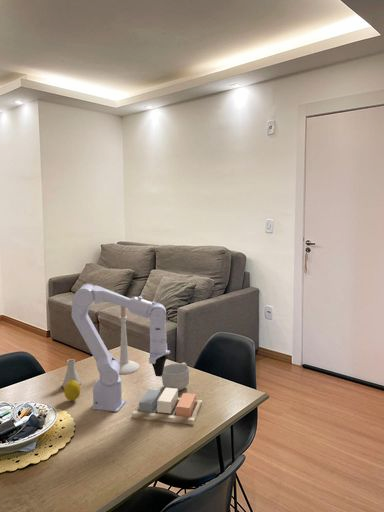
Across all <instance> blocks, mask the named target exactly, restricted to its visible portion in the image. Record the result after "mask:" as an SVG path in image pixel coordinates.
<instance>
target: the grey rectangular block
mask: <svg viewBox="0 0 384 512" xmlns="http://www.w3.org/2000/svg"><path fill="white" fill-rule="evenodd" d="M160 396H161V390H160V389H159V390H157V389H149V388H148V389H147V391H146V392H145V393H144V395H143V396H142V397H141V399H140V400H139V401H138V404H139V412H148V413H154V411H155V409H156V408H157V400H158V399H159V397H160Z"/></svg>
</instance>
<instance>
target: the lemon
mask: <svg viewBox="0 0 384 512" xmlns="http://www.w3.org/2000/svg"><path fill="white" fill-rule="evenodd" d="M80 395H81V385H80V386H79V383H78V382H77V381H74V380H71V381H69V382H68V383H67V384H66V385H65V388H64V396H65V398H66V400H69V401H71V402H74V401H75V400H77V399H78V398H79V397H80Z"/></svg>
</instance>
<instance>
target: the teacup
mask: <svg viewBox="0 0 384 512" xmlns="http://www.w3.org/2000/svg"><path fill="white" fill-rule="evenodd" d="M189 370H190V367H189V366H188V365H187V363H186V362H181V363H171V364H166V365H164V370H163V374H162V376H161V382H162V386H163V387H164V388H175V389H178V392H179V391H182V390H184V389H185V388H186V387H187V386H189V383H190V371H189Z"/></svg>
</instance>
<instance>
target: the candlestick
mask: <svg viewBox="0 0 384 512" xmlns="http://www.w3.org/2000/svg"><path fill="white" fill-rule="evenodd" d="M126 308H127V307H123V306H120V316H119V317H118V319H119V321H120V323H121V325H120V327H121V328H120V350H119V351H120V352H119V353H120V355H119V360H118V361H119V362H120V364H121V369H120V372H119V375H129V374H133V373H135V372H137V371H139V370H140V364H139V363H138V362H136V361H134V360H129V351H128V337H127V335H128V334H127V325H126V322H127V320H128V319H127V318H128V316H127V315H126V314H127V313H126V310H127V309H126Z"/></svg>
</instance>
